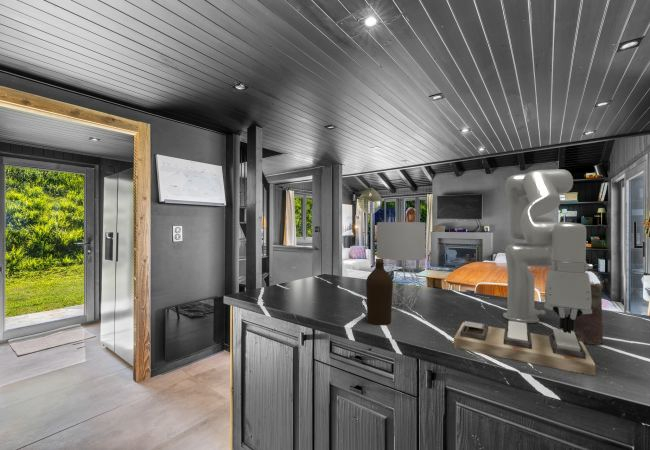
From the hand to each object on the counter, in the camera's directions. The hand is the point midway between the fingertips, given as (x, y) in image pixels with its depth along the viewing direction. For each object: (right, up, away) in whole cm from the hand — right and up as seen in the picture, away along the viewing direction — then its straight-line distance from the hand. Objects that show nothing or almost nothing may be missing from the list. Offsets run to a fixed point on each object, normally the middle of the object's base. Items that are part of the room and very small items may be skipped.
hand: (566, 331), depth 87 cm
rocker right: (+2, -4, +3) cm, 5 cm away
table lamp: (-33, -9, +59) cm, 68 cm away
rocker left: (-19, -4, +15) cm, 24 cm away
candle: (+20, -9, +16) cm, 28 cm away
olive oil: (-47, -9, +36) cm, 60 cm away
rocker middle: (-8, -4, +9) cm, 13 cm away
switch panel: (-8, -9, +9) cm, 15 cm away
